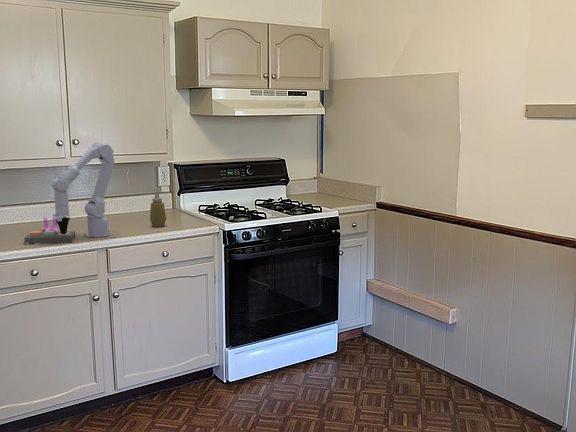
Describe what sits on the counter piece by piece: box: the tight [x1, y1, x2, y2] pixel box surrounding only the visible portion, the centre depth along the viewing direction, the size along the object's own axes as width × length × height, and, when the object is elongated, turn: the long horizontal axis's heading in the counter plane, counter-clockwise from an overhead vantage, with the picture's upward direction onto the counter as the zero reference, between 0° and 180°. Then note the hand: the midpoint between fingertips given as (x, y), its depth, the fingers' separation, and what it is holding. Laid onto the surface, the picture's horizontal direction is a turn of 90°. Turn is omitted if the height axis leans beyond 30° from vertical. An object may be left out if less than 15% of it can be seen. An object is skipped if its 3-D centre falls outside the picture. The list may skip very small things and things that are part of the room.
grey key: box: [44, 230, 56, 236], centre depth 271 cm, size 4×4×3 cm
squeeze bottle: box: [149, 190, 167, 228], centre depth 302 cm, size 8×8×18 cm
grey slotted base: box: [23, 230, 77, 244], centre depth 272 cm, size 20×10×3 cm, turn 99°
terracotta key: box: [29, 230, 43, 236], centre depth 270 cm, size 4×4×3 cm
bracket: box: [43, 215, 60, 232], centre depth 290 cm, size 13×6×7 cm, turn 28°
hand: (63, 233), depth 272 cm, fingers closed, pressing on cream key
